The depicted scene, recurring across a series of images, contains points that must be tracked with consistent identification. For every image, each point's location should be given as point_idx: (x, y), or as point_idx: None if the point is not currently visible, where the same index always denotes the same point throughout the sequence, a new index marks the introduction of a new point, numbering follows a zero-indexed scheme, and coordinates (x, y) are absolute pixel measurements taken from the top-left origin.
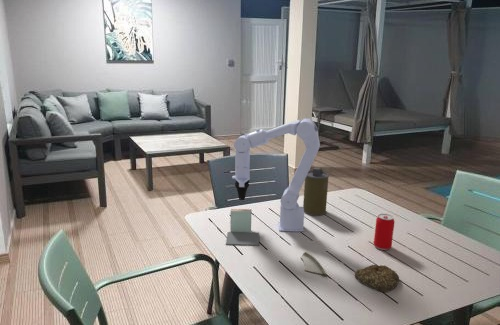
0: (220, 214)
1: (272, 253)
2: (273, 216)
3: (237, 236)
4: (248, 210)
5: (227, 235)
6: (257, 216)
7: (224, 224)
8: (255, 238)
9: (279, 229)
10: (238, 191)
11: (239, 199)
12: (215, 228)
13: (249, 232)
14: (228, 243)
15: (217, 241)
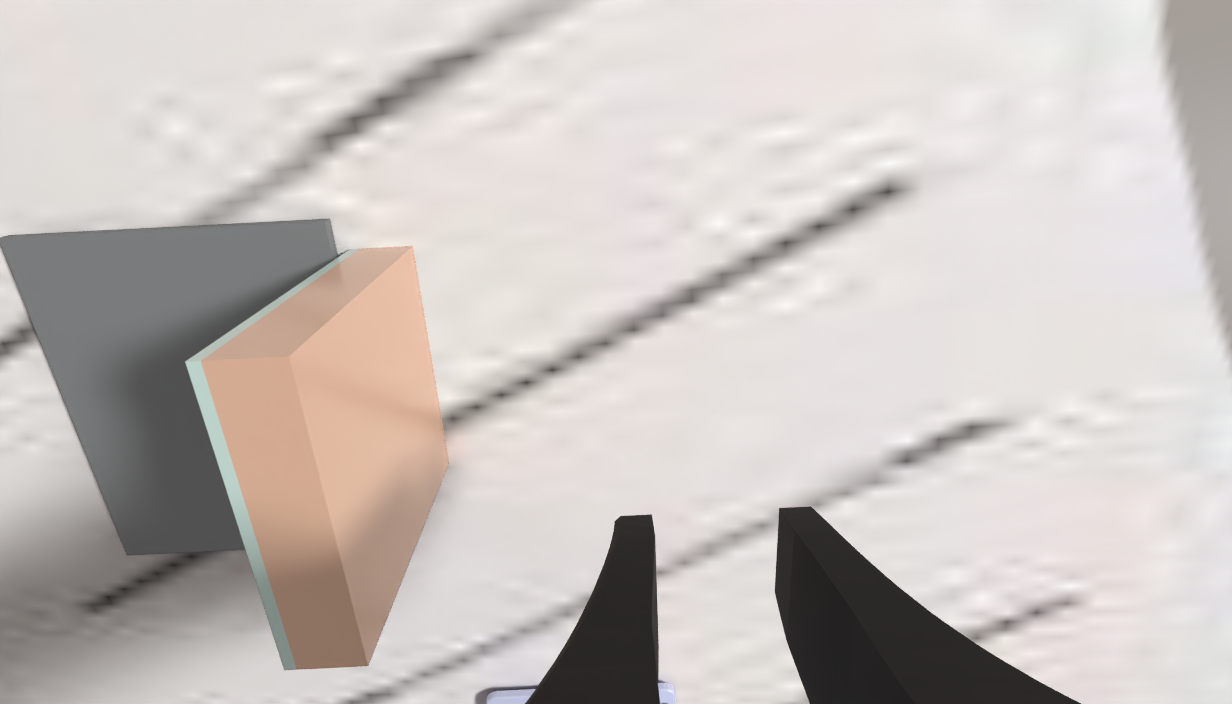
0: (927, 35)
1: (35, 646)
2: None
3: None
4: (308, 630)
5: (221, 230)
6: (841, 503)
7: (575, 144)
8: None
9: (495, 700)
10: (562, 671)
11: (616, 525)
12: (424, 30)
13: None
14: (18, 266)
15: (51, 119)
